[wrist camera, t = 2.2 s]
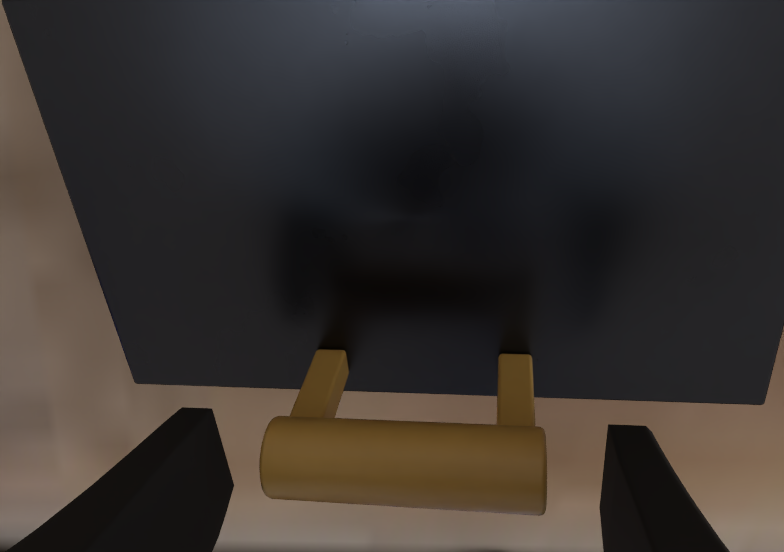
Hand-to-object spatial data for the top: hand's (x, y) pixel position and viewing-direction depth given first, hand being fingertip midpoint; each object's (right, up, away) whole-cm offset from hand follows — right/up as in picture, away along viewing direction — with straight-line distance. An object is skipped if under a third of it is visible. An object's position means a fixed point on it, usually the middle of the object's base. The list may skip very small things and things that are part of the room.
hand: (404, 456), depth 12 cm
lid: (0, +5, +1) cm, 5 cm away
